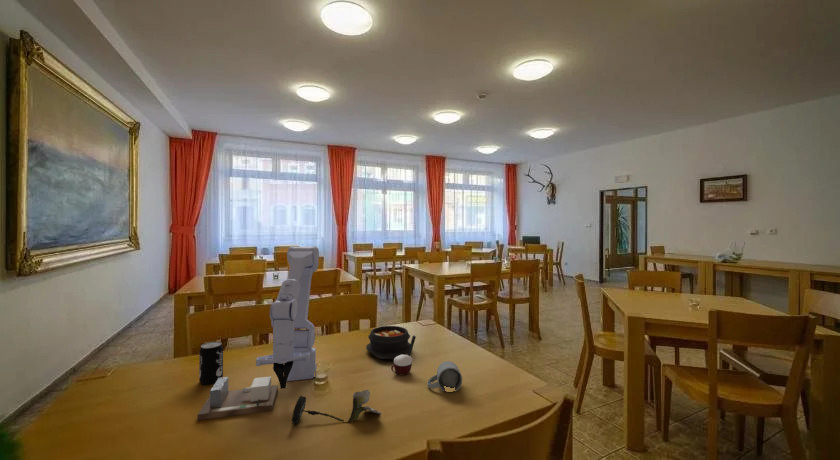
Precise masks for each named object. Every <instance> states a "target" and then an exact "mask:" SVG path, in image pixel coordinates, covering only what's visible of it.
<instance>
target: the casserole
mask: <svg viewBox="0 0 840 460" xmlns="http://www.w3.org/2000/svg"><path fill="white" fill-rule="evenodd" d="M369 333H370V334H368V339H369V341H370V342H369V343H368V344H367V345H366V346H365V349H366V351H367V352H368V353H370V354H372V355H373V356H374V357H376V358H377V359H380V360H381V359H382V360H384V359H385V360H394V358H395V357H397V356H399V355H407V354H408V351H409V347H410V344H411V342H409V339H410V338H411V335H410V333H409V331H408V329H407V328H404V327H402V326H396V325H383V326H379V327H378V326H377V327H375V328H373V329H371V330H370V332H369Z"/></svg>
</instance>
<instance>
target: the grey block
mask: <svg viewBox="0 0 840 460" xmlns="http://www.w3.org/2000/svg"><path fill="white" fill-rule="evenodd" d="M228 391H229V376H223V377H222V378H218V380H217V381H216V383H215V384H213V386H212V387H211V389H210V390H209V396H210V409H217V408H221V406H222V404H223V403H224V401H225V399H226V397H227V395H228Z"/></svg>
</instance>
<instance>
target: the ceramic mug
mask: <svg viewBox="0 0 840 460" xmlns="http://www.w3.org/2000/svg"><path fill="white" fill-rule="evenodd" d="M431 382H432V383H431ZM426 384H427V387H428V388H429V387H430V388H432V389H431V390H433V389H436V388H439V389H440V390H441V391H443V392H444V391H445V388H444V386H446V387H450V388H454V387H455V390H456V391H455V392H457V391H459V390H460V389H461V387H462V384H463V376H462V373H461V371H460V369H459V366H458V365H457V364H456V363H454V362H453V361H450V360H446V361H443V362H441V363H440V364H439V365H438V366H437V370H436V374H435V375H433V376H432V377H430V378H429V379H428V380H427V382H426ZM430 388H429V389H430Z"/></svg>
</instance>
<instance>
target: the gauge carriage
mask: <svg viewBox="0 0 840 460" xmlns="http://www.w3.org/2000/svg"><path fill="white" fill-rule="evenodd" d="M271 386H272V376H263V377H262V376H261V377H254V379H253V381H252V383H251V385H250V387H248V386H247V387H243V388H242V389H243V391H242V392H243V393H251V402H253V401H258V402H257V405H259V403H260V401H261V400H268V398H269V395H270V392H271Z"/></svg>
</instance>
